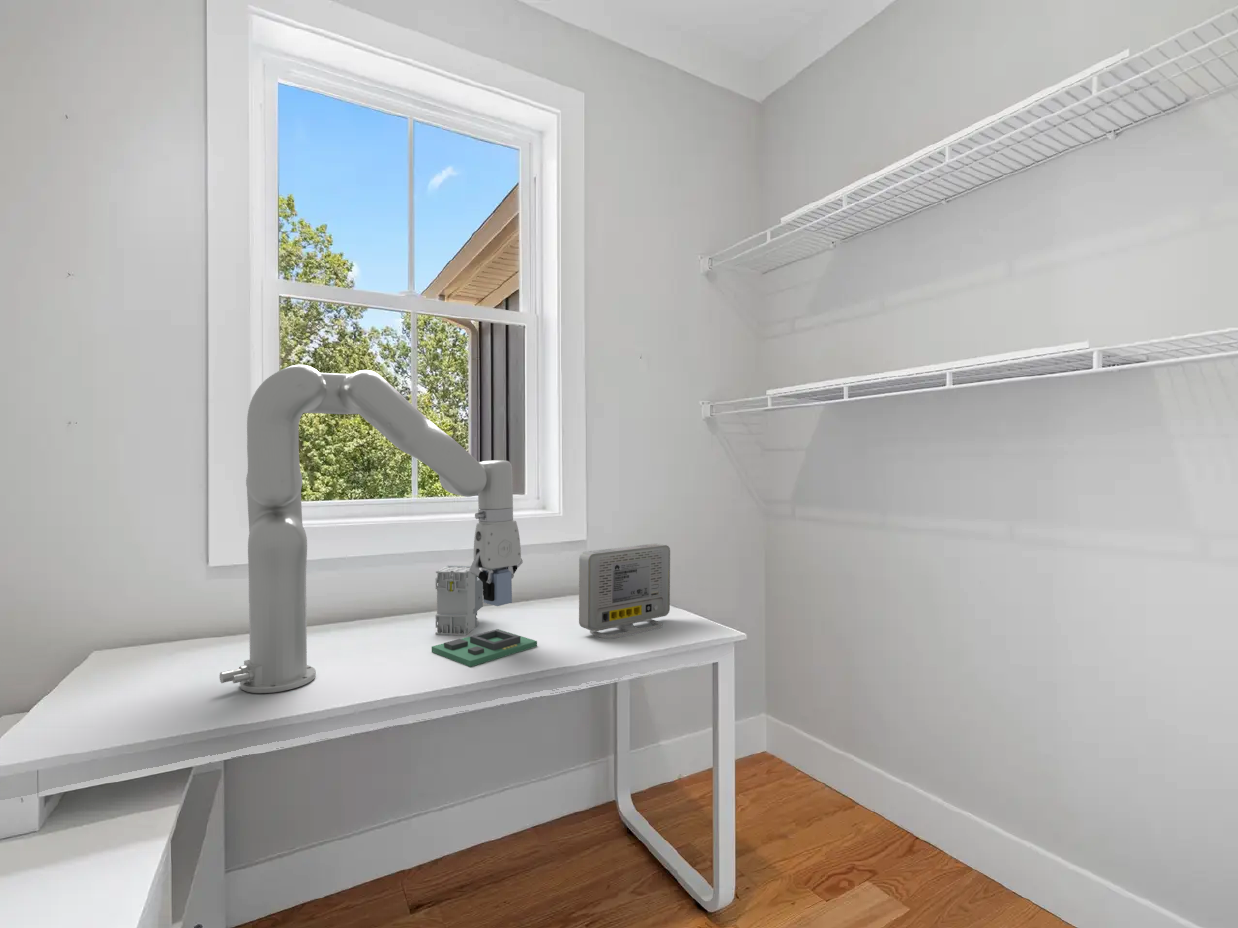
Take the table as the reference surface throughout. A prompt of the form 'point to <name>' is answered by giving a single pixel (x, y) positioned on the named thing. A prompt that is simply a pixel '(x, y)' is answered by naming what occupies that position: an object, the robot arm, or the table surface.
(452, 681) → the table surface
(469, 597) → the circuit breaker
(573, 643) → the table surface
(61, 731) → the table surface
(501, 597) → the plug
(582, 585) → the network device
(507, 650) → the board
